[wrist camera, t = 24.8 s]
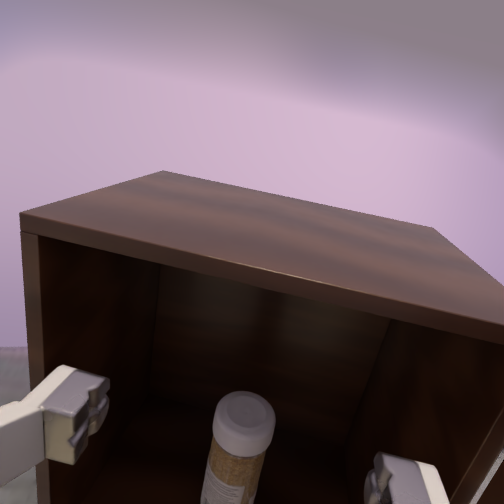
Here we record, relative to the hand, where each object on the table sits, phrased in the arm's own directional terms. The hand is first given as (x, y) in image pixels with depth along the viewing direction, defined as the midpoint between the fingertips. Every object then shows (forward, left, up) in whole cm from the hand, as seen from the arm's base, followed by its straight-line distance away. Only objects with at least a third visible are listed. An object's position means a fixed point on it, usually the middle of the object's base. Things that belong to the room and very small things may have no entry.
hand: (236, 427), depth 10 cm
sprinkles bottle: (+3, +12, -25) cm, 28 cm away
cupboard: (+4, +16, -26) cm, 30 cm away
